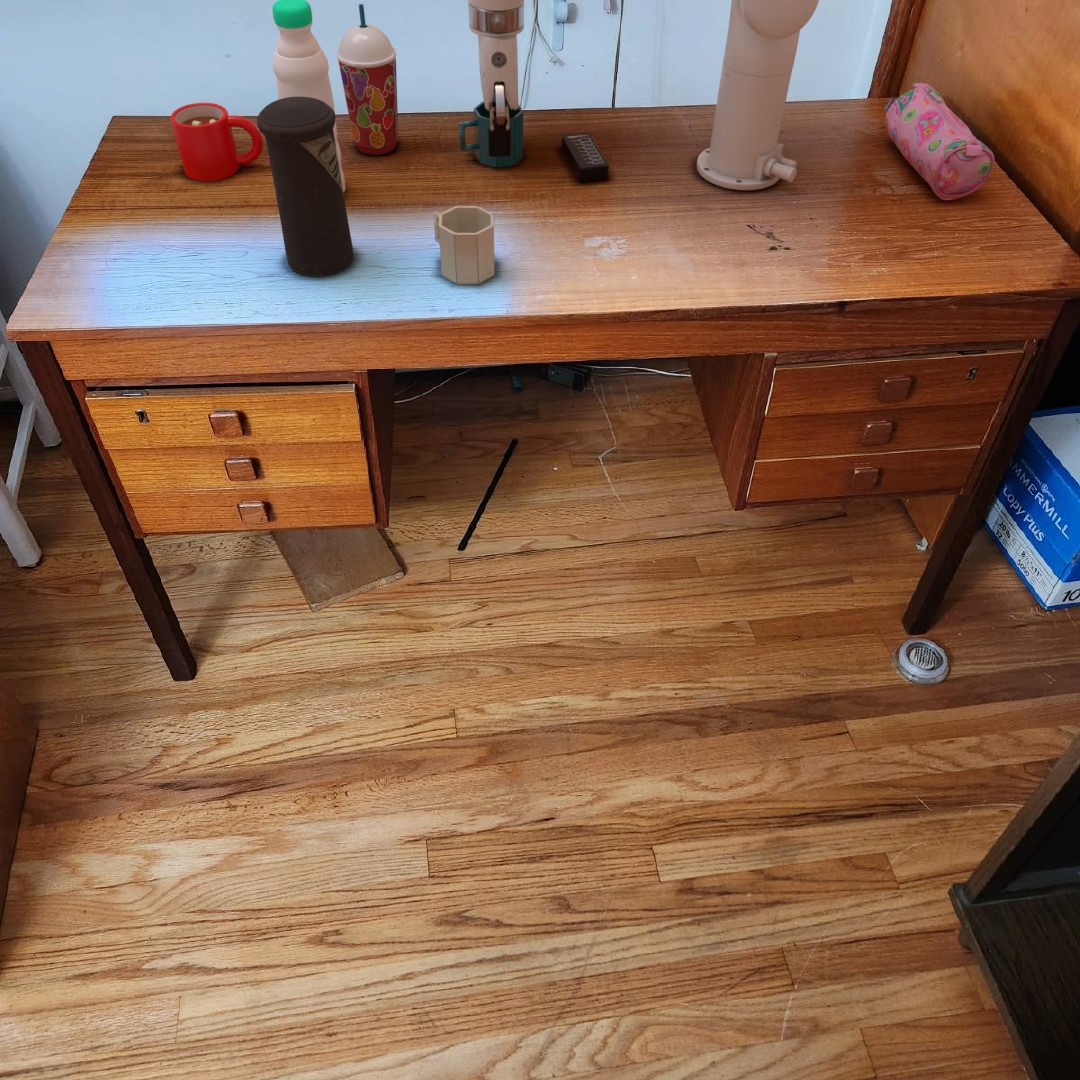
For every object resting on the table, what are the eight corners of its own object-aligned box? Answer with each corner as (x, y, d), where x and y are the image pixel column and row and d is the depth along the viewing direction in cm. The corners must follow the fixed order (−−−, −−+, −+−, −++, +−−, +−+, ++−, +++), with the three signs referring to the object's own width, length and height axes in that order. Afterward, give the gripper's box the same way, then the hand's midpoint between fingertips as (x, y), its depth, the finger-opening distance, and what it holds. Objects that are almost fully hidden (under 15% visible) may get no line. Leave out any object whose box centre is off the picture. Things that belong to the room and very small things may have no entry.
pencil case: (874, 136, 152) (891, 78, 145) (930, 135, 152) (949, 77, 146) (922, 205, 137) (943, 144, 131) (983, 204, 138) (1007, 143, 131)
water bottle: (301, 179, 139) (268, -9, 120) (349, 181, 139) (324, -7, 120) (291, 204, 134) (255, 12, 116) (341, 206, 134) (313, 14, 116)
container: (360, 273, 123) (339, 118, 108) (289, 283, 121) (258, 127, 106) (349, 238, 129) (328, 86, 114) (281, 247, 127) (251, 94, 112)
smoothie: (408, 135, 149) (397, -5, 134) (398, 161, 143) (384, 18, 128) (356, 132, 149) (338, -8, 134) (343, 157, 144) (323, 14, 129)
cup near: (505, 269, 124) (504, 220, 119) (467, 290, 121) (465, 240, 116) (455, 241, 129) (453, 192, 123) (417, 261, 125) (413, 212, 120)
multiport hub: (579, 183, 140) (580, 168, 138) (560, 148, 147) (561, 134, 145) (608, 180, 141) (609, 165, 139) (588, 146, 148) (589, 131, 146)
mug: (266, 178, 139) (255, 124, 133) (181, 182, 138) (166, 128, 132) (269, 152, 144) (259, 100, 138) (187, 156, 143) (173, 103, 137)
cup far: (513, 143, 148) (513, 97, 143) (527, 163, 144) (527, 116, 138) (454, 151, 146) (452, 104, 141) (466, 172, 142) (465, 125, 136)
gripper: (529, 40, 125) (527, 170, 138) (518, -8, 136) (518, 116, 150) (471, 41, 124) (475, 172, 137) (465, -8, 136) (470, 117, 149)
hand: (497, 142), depth 143 cm, fingers closed on cup far, 7 cm apart
